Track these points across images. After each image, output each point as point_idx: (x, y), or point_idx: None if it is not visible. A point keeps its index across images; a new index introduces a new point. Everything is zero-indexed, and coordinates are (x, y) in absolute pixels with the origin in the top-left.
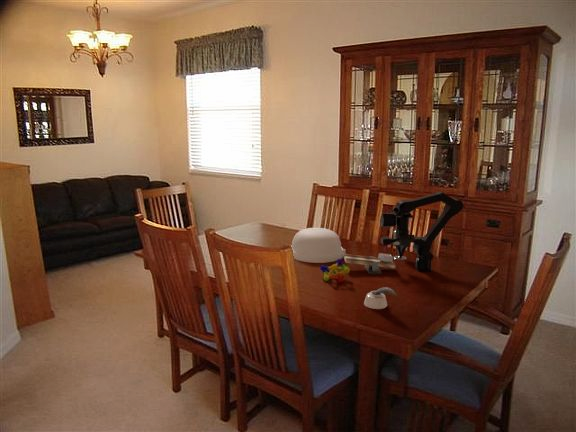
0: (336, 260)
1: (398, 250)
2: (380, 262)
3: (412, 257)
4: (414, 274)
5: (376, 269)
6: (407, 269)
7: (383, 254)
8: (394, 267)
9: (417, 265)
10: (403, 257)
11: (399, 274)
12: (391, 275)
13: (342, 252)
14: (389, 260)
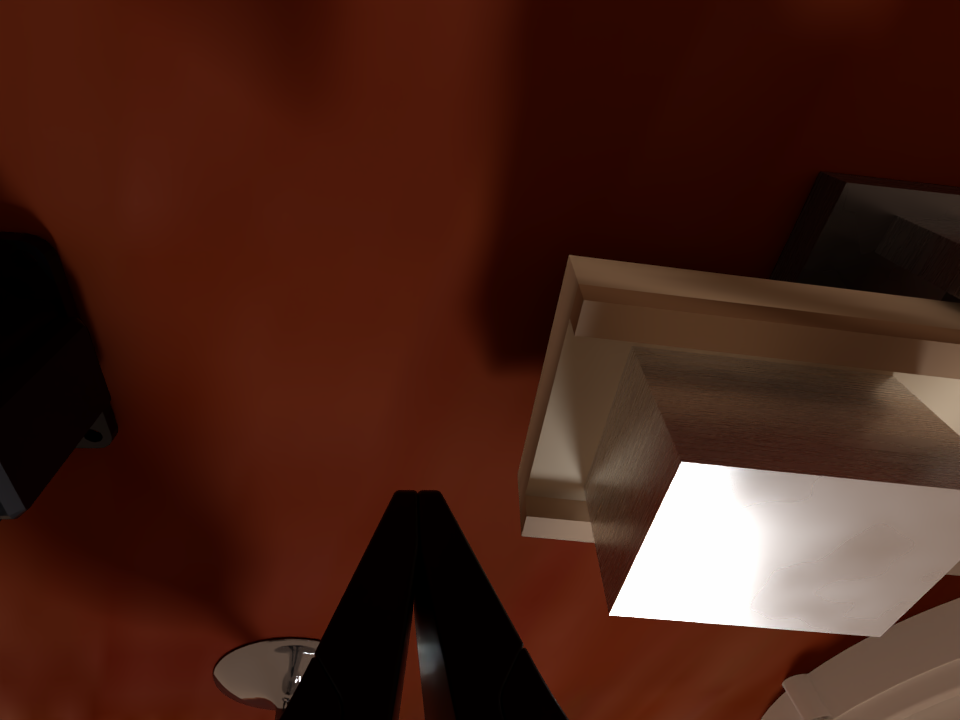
0: (954, 601)
1: (552, 710)
2: (942, 339)
3: (141, 692)
4: (163, 60)
5: (940, 231)
6: (271, 356)
7: (833, 586)
8: (586, 262)
9: (31, 357)
10: (250, 680)
11: (504, 98)
12: (695, 49)
13: (865, 709)
14: (727, 399)
